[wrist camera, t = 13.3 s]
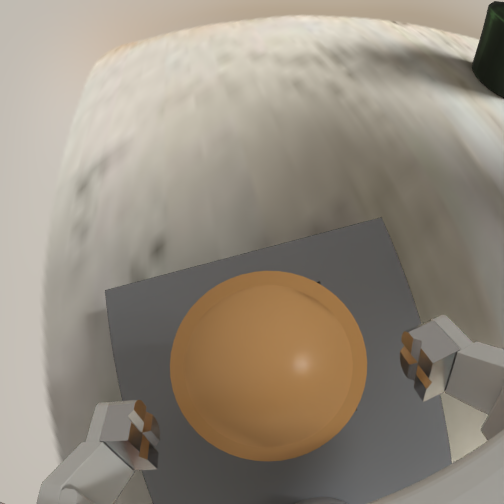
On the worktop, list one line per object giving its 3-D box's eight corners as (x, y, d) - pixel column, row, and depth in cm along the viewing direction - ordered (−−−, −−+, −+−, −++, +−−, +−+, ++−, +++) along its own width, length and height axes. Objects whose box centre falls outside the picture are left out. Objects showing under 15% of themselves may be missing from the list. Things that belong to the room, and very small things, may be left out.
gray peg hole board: (129, 302, 18) (73, 273, 12) (367, 239, 18) (400, 187, 12) (202, 560, 11) (176, 611, 6) (434, 499, 11) (481, 533, 6)
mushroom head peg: (237, 308, 17) (201, 252, 9) (329, 329, 16) (382, 292, 8) (213, 397, 15) (150, 427, 7) (306, 419, 15) (338, 475, 6)
